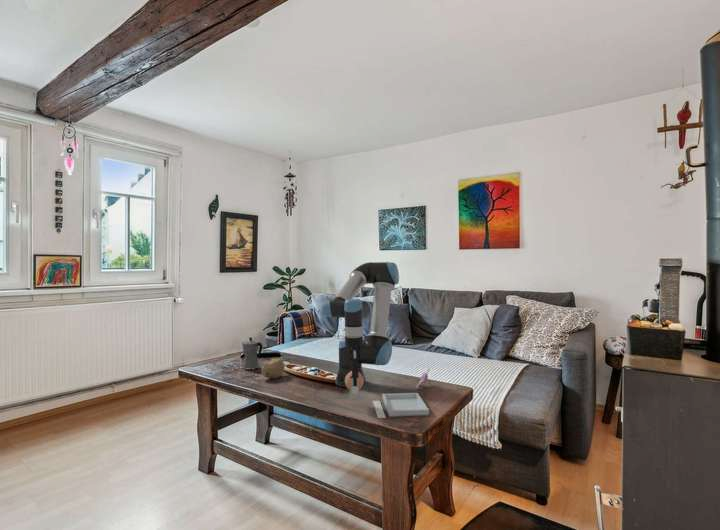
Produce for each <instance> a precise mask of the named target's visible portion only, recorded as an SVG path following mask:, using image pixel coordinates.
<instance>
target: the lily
mask: <svg viewBox="0 0 720 530" xmlns="http://www.w3.org/2000/svg"><path fill="white" fill-rule="evenodd" d="M430 370H431V367H430V368H428V369H427V371H426V372H425V371H424V372H423V373H422V374H421V376H420V381H419V383H418V384H417V386H416V388H415V390H417V389H418V387H419V385H421V384H422V383H426V382H427V383H429V384H430V386H431V387H432V389H433V388H434V387H433V385H432V384H431V382H430V381H429V378H428V372H429V371H430Z"/></svg>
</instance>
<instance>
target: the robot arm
mask: <svg viewBox="0 0 720 530" xmlns="http://www.w3.org/2000/svg"><path fill="white" fill-rule="evenodd" d="M399 282H400V274H399V269H398V266H397V264H396V262H393V261H392V262H390V261H389V262H388V261H386V262H384V261H382V262H381V261H380V262H379V261H378V262H371V261H370V262H364V263H362V264H360V265H359V266H357V267H355V269H353V270H352V271H351V272H350V274H349V277H348V280H347V281H346V282H345V283H344V285H343V286H342V287H341V289H340V290H339V291H338V292H337V294H335V296H334V298H332V300H330V299H329V300H326V301H324V302H323V303H322V307H321V308H322V314H323V316H325V317H326V318H327V317H328V318H331V319H332V318H339V319H341V318H342V319H343V318H344V327H343V331H344V335H345V336H344V338H340V340H339V342H338V369H337V370H338V371H337V373H336V377H335V385H336V386H339V387H342V388H347V386H346V384H345V378H346V376H347V374H348V373H350V372H352V377H350V378H352V390H351V394H353V395H354V394H355V395H356V394H359V390H358V377H359V376H358V372H359V373H361V374H362V376H363V378H364V384H363V386H364V385H365V384H366V377H365V373H364V370H363V364H364V365H372V366H373V365H374V366H385V365H387V364H389V362H390V360H391V358H392V353H393V343H392V342H391V340H390V337H389V336H388V326H389V316H390V315H389V314H390V306H391V305H390V304H391V298H392V297H391V296H392V291H393V290H394V289H395V286H396V285H398V284H399ZM368 284H369V285H370V284H371V285H372V287H373V288H374V295H373V302H372V303H373V305H372V303H370V302H369V301H367V300H362V299H360V298H355V296H356V295H357V293H358V292H359V291H360V289H361V288H363V287H365V285H368ZM370 315H371V319H370V330H369V333H368V334H367V335H366V336H365V337H366V338H365V339H363V335H364V334H363V333H364V330H363V329H364V328H363V327H364V325H363V319H366V318H368V317H369V316H370Z"/></svg>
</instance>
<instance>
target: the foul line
mask: <svg viewBox="0 0 720 530" xmlns="http://www.w3.org/2000/svg"><path fill="white" fill-rule="evenodd" d="M372 403H373V407H374V410H375V413H376V416H377V419H386V418H387V417H386V414H385V411H384V409H383V406H382V403H381V400H373V401H372Z"/></svg>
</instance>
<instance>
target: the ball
mask: <svg viewBox="0 0 720 530" xmlns="http://www.w3.org/2000/svg"><path fill="white" fill-rule="evenodd" d="M358 376H359V377H358V391H360V390H361V389H362V388H363V386H364V385H365V384H364V378H363V376H362V374H361V373H359V372H358ZM350 377H352V372H350V373H348V374H347V376H346V378H345V384H346V386H347V387H346V388H347V389H348V390H350V391H352V378H350ZM363 384H364V385H363Z"/></svg>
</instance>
